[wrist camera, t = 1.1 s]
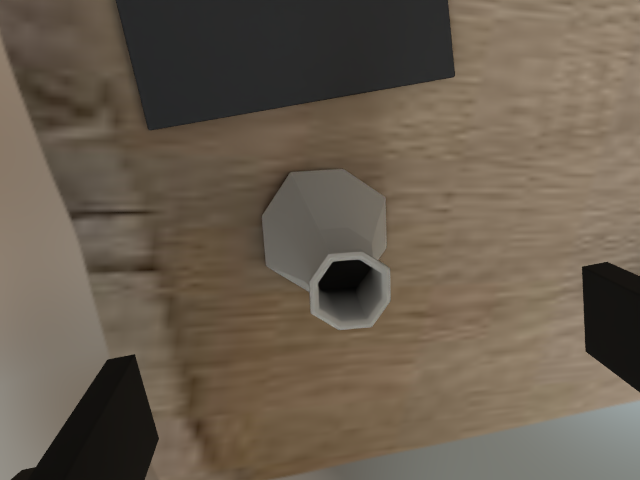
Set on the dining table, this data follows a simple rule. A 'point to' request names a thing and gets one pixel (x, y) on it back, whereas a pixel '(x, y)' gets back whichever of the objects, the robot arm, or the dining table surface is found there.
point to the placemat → (277, 52)
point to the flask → (331, 244)
